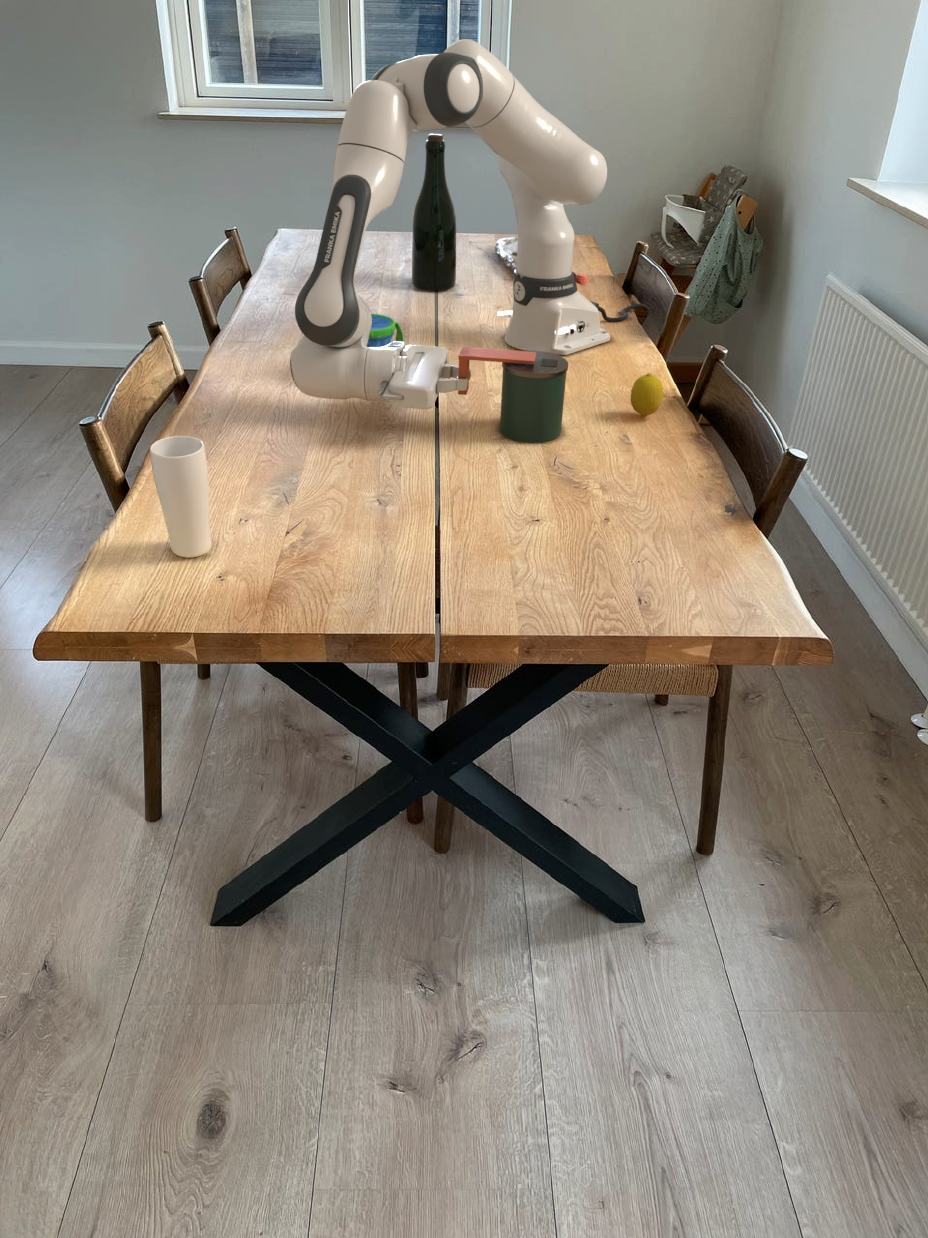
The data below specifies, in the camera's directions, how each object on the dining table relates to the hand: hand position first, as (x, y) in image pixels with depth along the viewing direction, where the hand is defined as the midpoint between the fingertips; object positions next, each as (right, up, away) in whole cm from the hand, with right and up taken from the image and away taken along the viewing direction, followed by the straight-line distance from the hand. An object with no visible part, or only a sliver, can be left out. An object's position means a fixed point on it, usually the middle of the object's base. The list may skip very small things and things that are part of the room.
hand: (469, 379), depth 165 cm
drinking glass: (-37, -31, -32) cm, 58 cm away
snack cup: (-19, +6, +23) cm, 31 cm away
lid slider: (+4, -2, +1) cm, 5 cm away
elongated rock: (+13, +51, +90) cm, 104 cm away
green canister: (+10, -8, +4) cm, 14 cm away
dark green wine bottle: (-8, +39, +72) cm, 82 cm away
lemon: (+31, -5, +10) cm, 33 cm away
